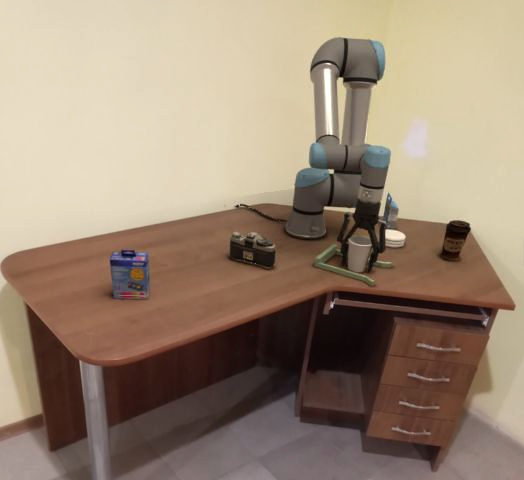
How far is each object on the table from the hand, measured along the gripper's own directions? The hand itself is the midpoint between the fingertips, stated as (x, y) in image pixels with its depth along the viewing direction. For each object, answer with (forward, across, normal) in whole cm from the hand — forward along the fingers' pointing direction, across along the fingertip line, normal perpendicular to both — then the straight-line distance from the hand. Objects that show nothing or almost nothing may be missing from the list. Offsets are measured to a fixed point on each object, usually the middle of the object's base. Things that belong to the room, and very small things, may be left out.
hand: (356, 266), depth 173 cm
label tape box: (+1, -5, +48) cm, 48 cm away
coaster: (+1, +2, +30) cm, 30 cm away
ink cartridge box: (+1, -45, -59) cm, 74 cm away
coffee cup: (+1, +24, +31) cm, 39 cm away
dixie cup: (+1, 0, 0) cm, 1 cm away
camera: (+1, -30, -16) cm, 34 cm away
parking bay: (+1, -1, 0) cm, 2 cm away
